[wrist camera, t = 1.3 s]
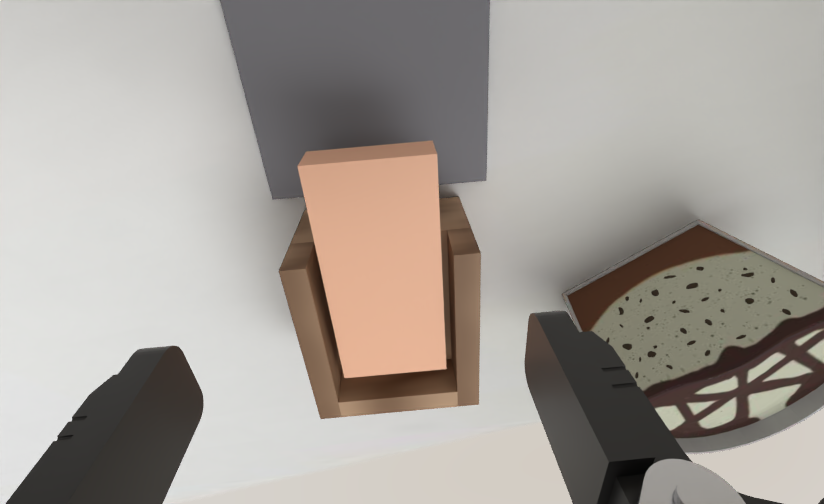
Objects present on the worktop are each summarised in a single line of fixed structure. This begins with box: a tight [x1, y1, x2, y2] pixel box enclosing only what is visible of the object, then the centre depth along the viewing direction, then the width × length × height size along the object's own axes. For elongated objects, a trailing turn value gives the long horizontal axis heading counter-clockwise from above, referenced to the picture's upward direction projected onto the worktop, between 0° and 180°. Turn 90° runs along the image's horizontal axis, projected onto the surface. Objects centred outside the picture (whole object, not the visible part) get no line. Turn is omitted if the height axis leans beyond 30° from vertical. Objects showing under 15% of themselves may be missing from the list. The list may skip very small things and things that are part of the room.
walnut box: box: [279, 197, 481, 419], centre depth 24 cm, size 9×10×6 cm
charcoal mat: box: [220, 0, 490, 199], centre depth 20 cm, size 12×13×1 cm
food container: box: [562, 219, 824, 454], centre depth 24 cm, size 12×6×10 cm, turn 126°
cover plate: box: [297, 141, 447, 378], centre depth 20 cm, size 6×12×2 cm, turn 4°
